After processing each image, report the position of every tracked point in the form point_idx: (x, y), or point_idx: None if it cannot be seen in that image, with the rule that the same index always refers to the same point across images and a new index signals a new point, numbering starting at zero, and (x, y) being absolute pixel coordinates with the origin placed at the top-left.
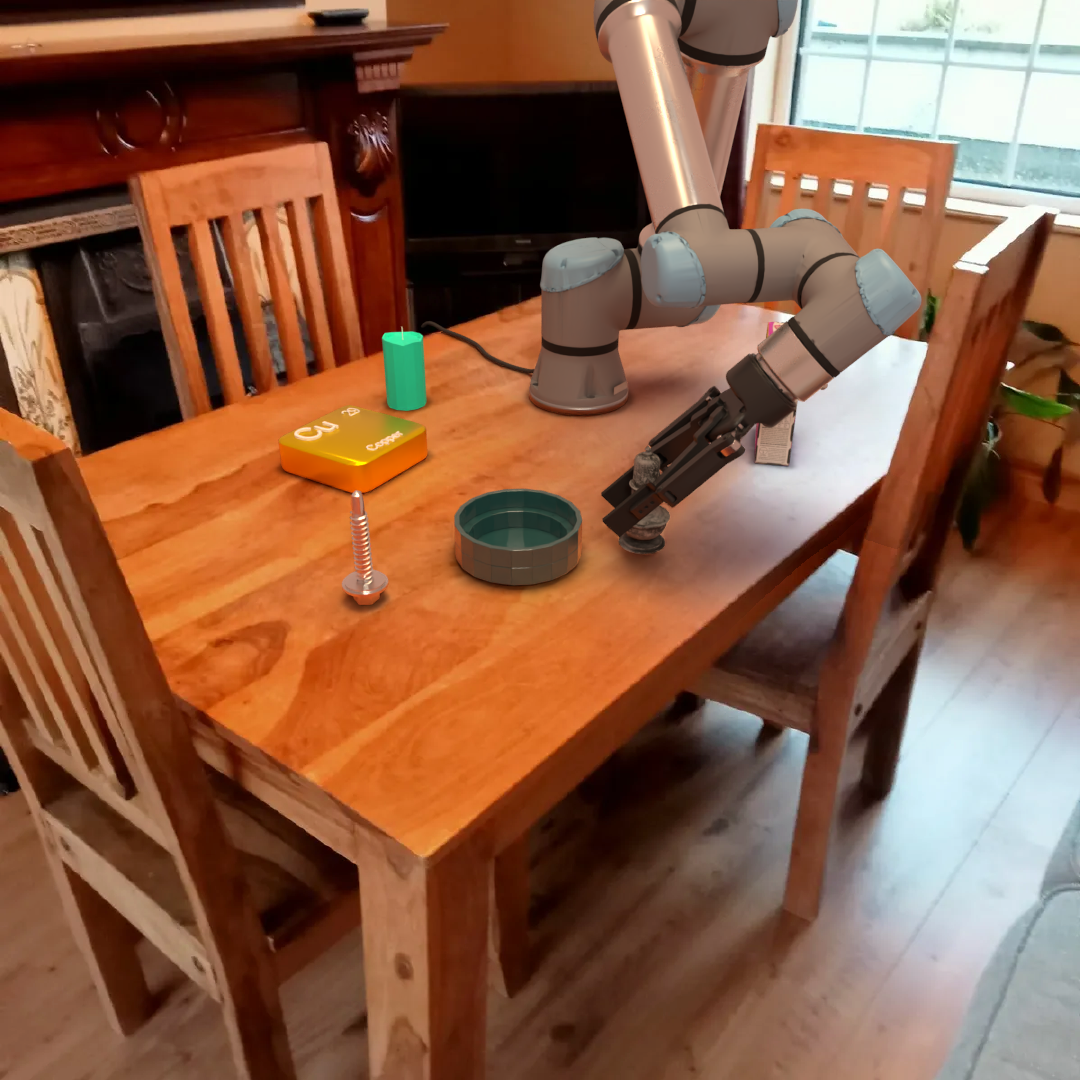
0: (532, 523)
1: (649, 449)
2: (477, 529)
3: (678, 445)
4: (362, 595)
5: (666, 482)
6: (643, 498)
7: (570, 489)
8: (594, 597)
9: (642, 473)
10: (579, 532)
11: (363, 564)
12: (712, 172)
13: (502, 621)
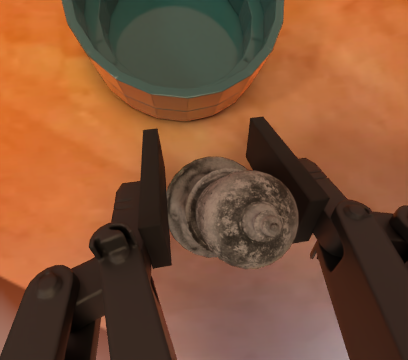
0: (245, 43)
1: (261, 233)
2: None
3: (369, 343)
4: None
5: (41, 323)
6: (127, 215)
7: (366, 90)
8: (91, 151)
9: (200, 205)
10: (164, 100)
11: None
12: None
13: (13, 40)
